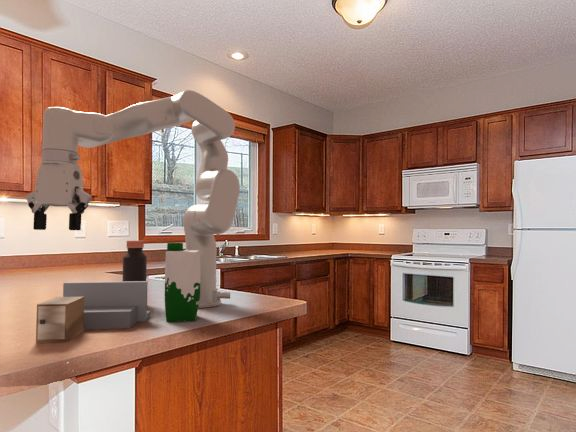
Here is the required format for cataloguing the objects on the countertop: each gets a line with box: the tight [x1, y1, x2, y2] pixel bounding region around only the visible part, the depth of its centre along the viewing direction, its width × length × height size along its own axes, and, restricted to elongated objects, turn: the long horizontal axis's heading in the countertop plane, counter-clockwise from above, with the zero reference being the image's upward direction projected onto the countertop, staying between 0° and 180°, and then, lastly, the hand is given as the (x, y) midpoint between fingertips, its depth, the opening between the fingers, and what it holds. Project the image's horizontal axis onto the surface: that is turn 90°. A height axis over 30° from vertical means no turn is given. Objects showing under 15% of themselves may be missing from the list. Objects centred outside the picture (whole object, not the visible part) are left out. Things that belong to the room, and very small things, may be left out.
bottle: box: [122, 240, 148, 282], centre depth 120 cm, size 7×7×20 cm
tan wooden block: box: [35, 296, 85, 344], centre depth 85 cm, size 6×10×8 cm, turn 8°
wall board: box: [62, 280, 151, 330], centre depth 98 cm, size 20×12×10 cm, turn 98°
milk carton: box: [164, 242, 201, 323], centre depth 103 cm, size 9×9×20 cm
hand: (57, 229), depth 94 cm, fingers open, 9 cm apart
